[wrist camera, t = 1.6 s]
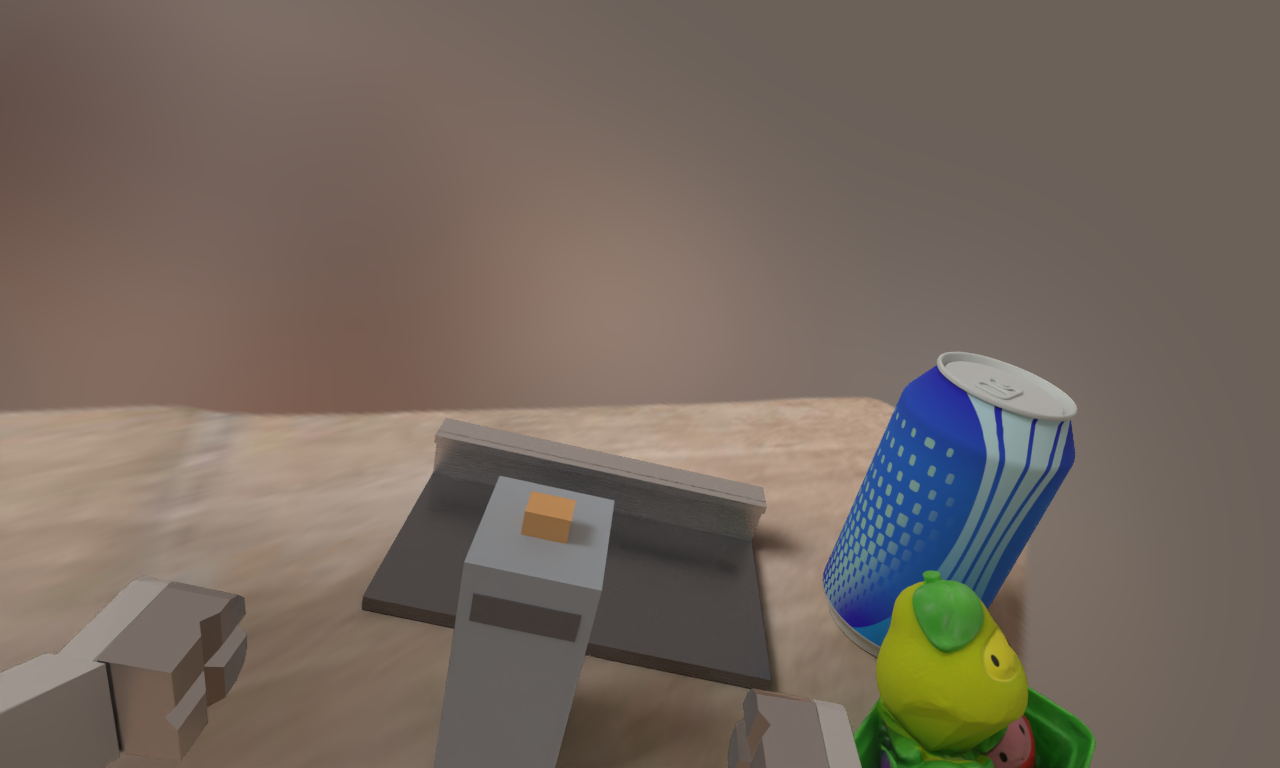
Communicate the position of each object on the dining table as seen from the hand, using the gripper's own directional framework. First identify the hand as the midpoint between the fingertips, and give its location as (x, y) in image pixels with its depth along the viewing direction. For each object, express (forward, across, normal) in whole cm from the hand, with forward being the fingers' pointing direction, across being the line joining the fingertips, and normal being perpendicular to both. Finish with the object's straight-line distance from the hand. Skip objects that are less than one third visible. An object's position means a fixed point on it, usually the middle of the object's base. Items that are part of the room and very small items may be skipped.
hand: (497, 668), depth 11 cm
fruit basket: (+12, -18, +18) cm, 28 cm away
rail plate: (+24, -2, +17) cm, 30 cm away
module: (+12, 0, +18) cm, 21 cm away
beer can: (+24, -20, +18) cm, 36 cm away
